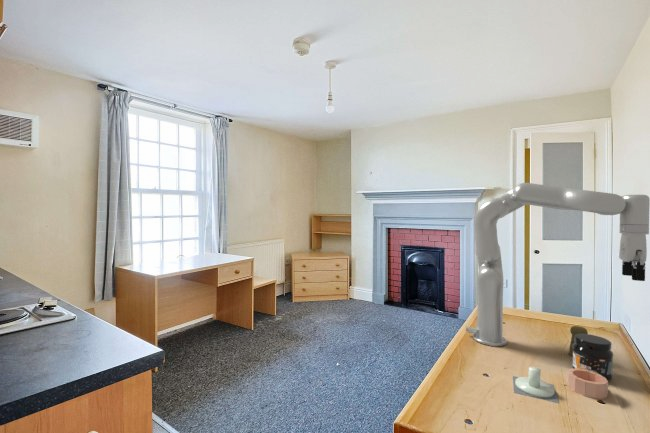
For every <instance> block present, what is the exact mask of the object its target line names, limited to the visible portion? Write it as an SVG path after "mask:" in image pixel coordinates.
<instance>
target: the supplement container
mask: <svg viewBox="0 0 650 433" xmlns="http://www.w3.org/2000/svg"><path fill="white" fill-rule="evenodd" d="M612 344H613V343H612V342H611V341H610V340H609V339H607V338H604V337H601V336H600V335H599V336H598V335H594V334H589V333H588V334H577V335H575V343H574V344H573V357H572V366H571V367H572V369H573V368H579V369H584V370H589V371H592V372H595V373H598V374H600V375H601V376H603V377H605V378H606V379H607V381H608V382H609V381H611V380H612V379H613V377H614V375H613V373H614V372H613V368H614V366H613V364H614V362H613V360H614V352H613V351H612Z"/></svg>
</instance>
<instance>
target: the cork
mask: <svg viewBox="0 0 650 433" xmlns="http://www.w3.org/2000/svg"><path fill="white" fill-rule="evenodd" d="M569 332H570V334H571V339H570V343H569V344H570V345H569V349H568V355H569V356H570V357H572V358H573V344H574V343H575V335H577V334H589V333H588V330H587V328H586V327H583V326H577V325H573V326H571V327H570V329H569Z"/></svg>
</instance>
